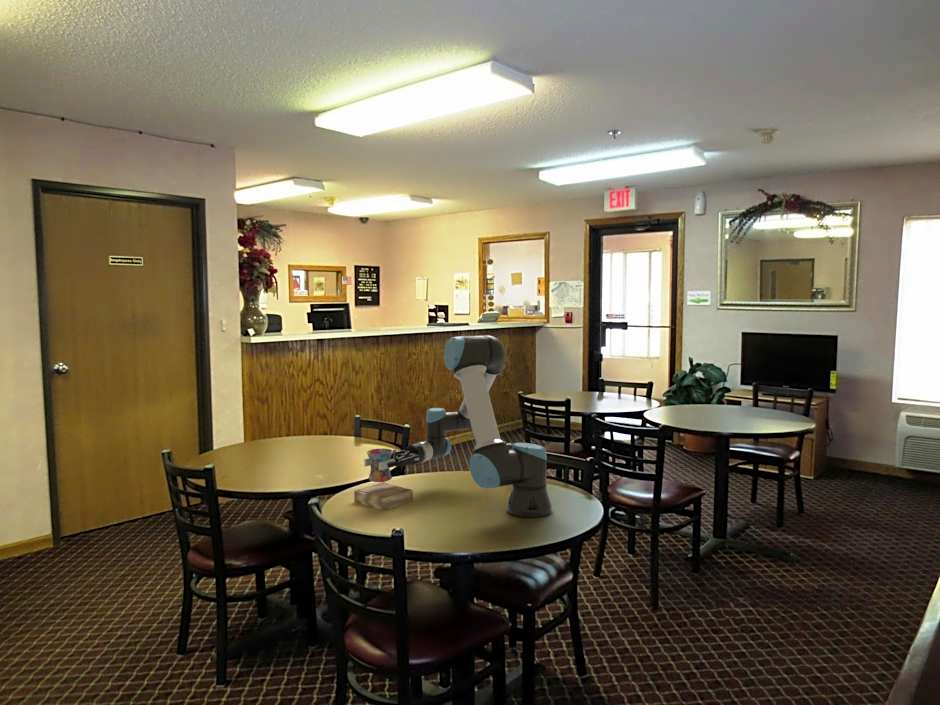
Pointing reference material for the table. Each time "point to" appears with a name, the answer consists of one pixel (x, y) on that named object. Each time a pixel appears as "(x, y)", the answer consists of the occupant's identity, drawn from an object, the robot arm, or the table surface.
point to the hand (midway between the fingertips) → (372, 464)
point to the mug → (375, 458)
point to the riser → (383, 496)
